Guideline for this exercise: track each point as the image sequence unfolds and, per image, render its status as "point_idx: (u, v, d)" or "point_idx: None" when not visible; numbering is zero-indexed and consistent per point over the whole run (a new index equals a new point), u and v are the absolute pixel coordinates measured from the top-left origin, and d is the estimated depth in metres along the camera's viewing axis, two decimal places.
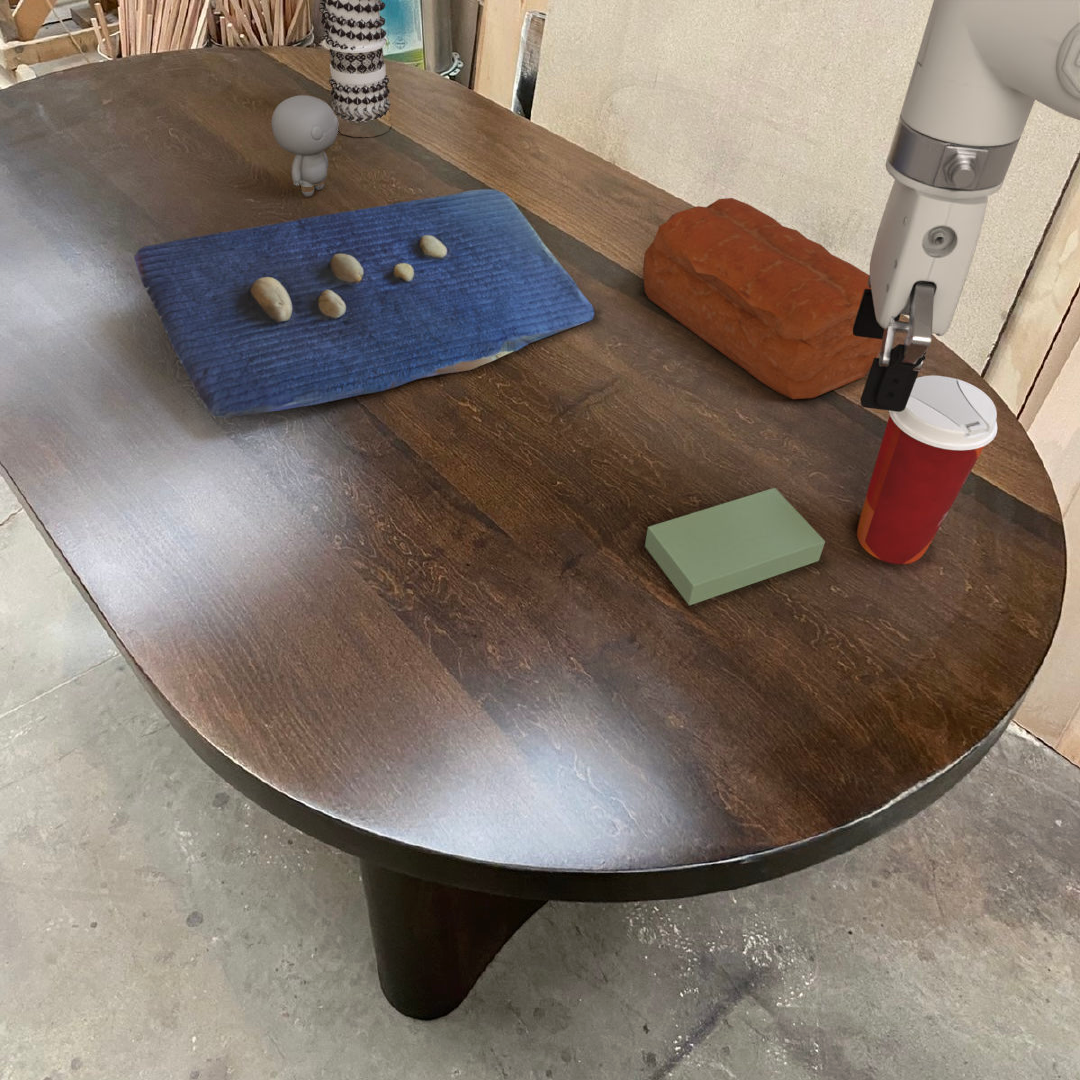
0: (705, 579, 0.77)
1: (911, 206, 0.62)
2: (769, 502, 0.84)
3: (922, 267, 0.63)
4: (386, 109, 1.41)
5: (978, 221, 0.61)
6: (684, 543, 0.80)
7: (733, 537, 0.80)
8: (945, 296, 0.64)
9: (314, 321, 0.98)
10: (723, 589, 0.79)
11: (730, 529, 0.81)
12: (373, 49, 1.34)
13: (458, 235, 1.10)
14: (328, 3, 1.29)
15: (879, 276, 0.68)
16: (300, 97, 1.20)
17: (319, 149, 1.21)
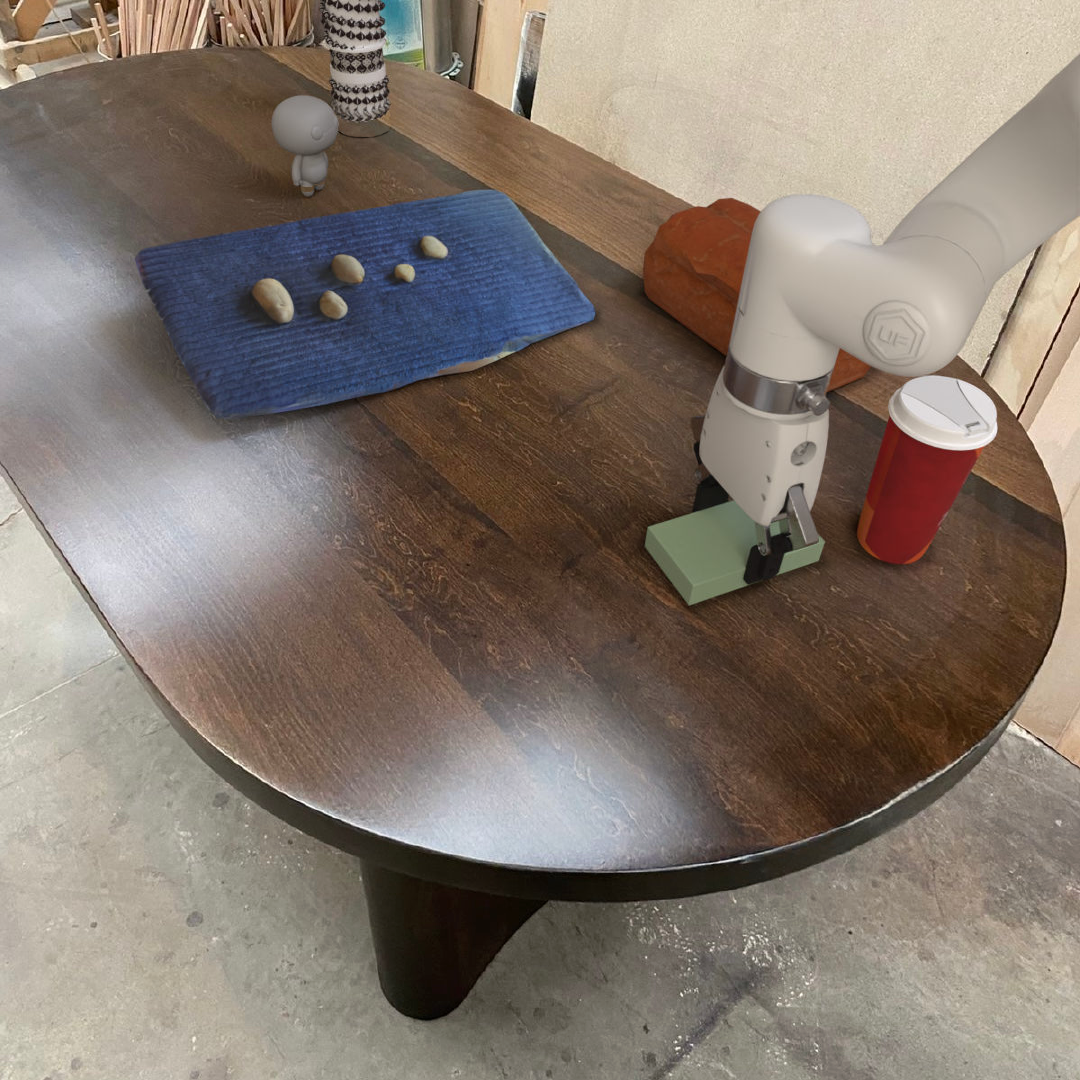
0: (705, 579, 0.77)
1: (772, 433, 0.68)
2: None
3: (793, 476, 0.70)
4: (386, 109, 1.41)
5: (827, 428, 0.69)
6: (684, 543, 0.80)
7: (733, 537, 0.80)
8: (811, 488, 0.72)
9: (315, 322, 0.98)
10: (723, 589, 0.79)
11: (730, 529, 0.81)
12: (373, 49, 1.34)
13: (458, 236, 1.10)
14: (328, 3, 1.29)
15: (741, 482, 0.74)
16: (300, 97, 1.20)
17: (319, 149, 1.21)
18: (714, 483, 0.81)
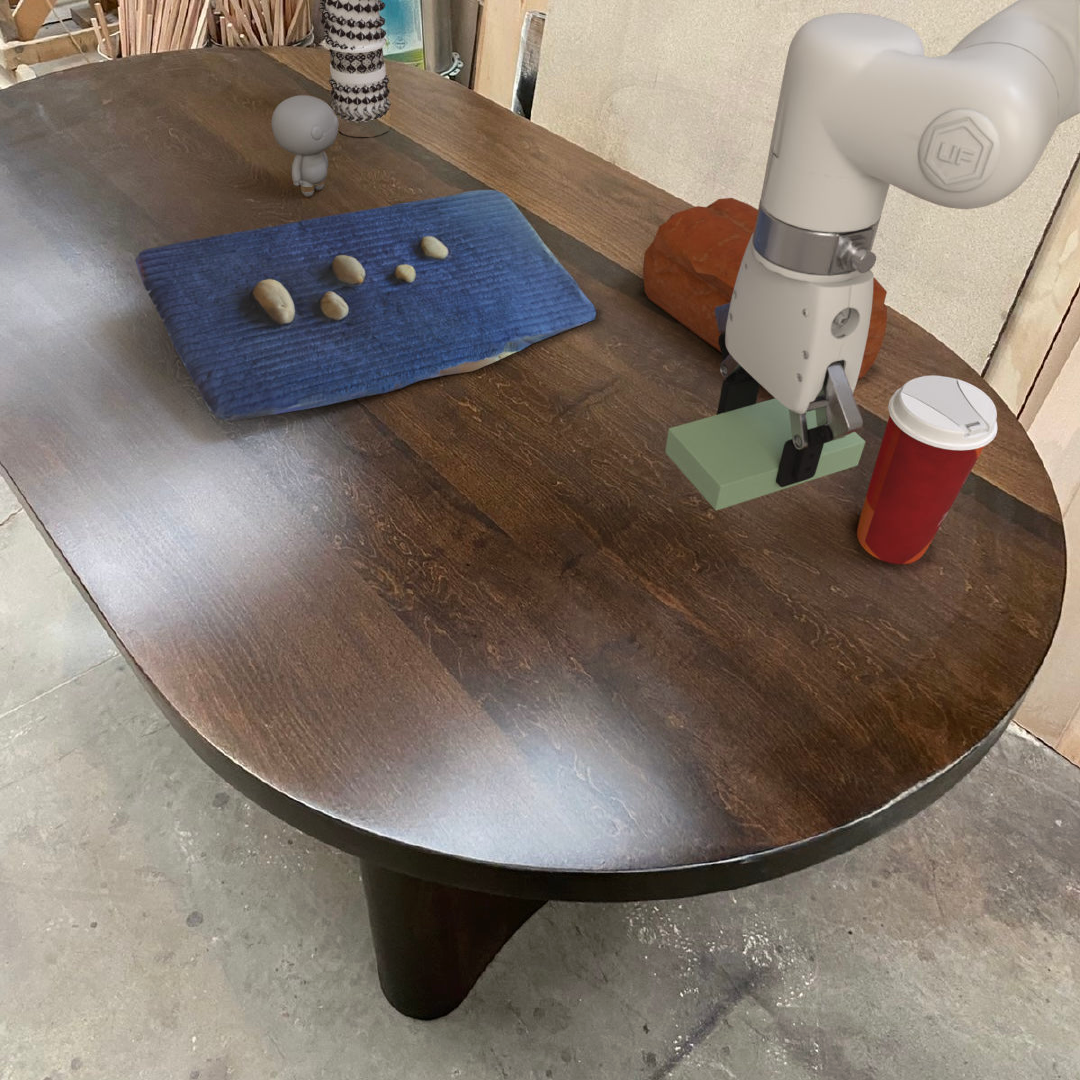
0: (733, 479, 0.69)
1: (810, 299, 0.61)
2: None
3: (833, 350, 0.62)
4: (386, 109, 1.41)
5: (871, 293, 0.61)
6: (709, 444, 0.72)
7: (763, 438, 0.73)
8: (853, 367, 0.64)
9: (316, 323, 0.97)
10: (753, 493, 0.71)
11: (760, 430, 0.73)
12: (373, 49, 1.34)
13: (459, 236, 1.10)
14: (328, 3, 1.29)
15: (773, 365, 0.66)
16: (300, 97, 1.20)
17: (319, 149, 1.21)
18: (741, 379, 0.74)
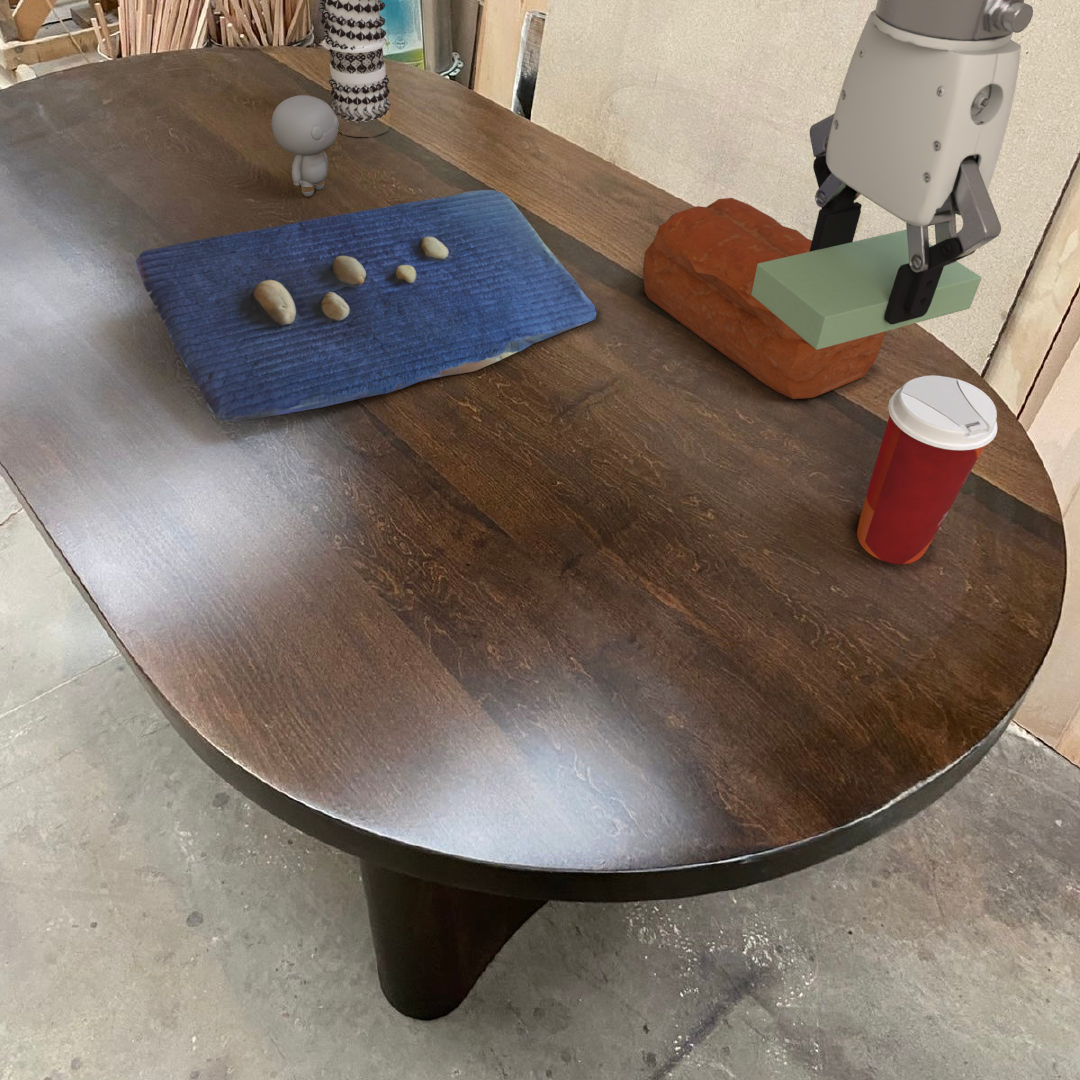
0: (839, 311, 0.60)
1: (948, 72, 0.52)
2: (904, 242, 0.67)
3: (970, 140, 0.54)
4: (386, 109, 1.41)
5: (1017, 69, 0.53)
6: (806, 278, 0.63)
7: (866, 273, 0.64)
8: (987, 167, 0.55)
9: (318, 324, 0.97)
10: (858, 331, 0.62)
11: (861, 265, 0.65)
12: (373, 49, 1.34)
13: (459, 236, 1.10)
14: (328, 3, 1.29)
15: (892, 169, 0.57)
16: (300, 97, 1.20)
17: (319, 149, 1.21)
18: (840, 209, 0.65)
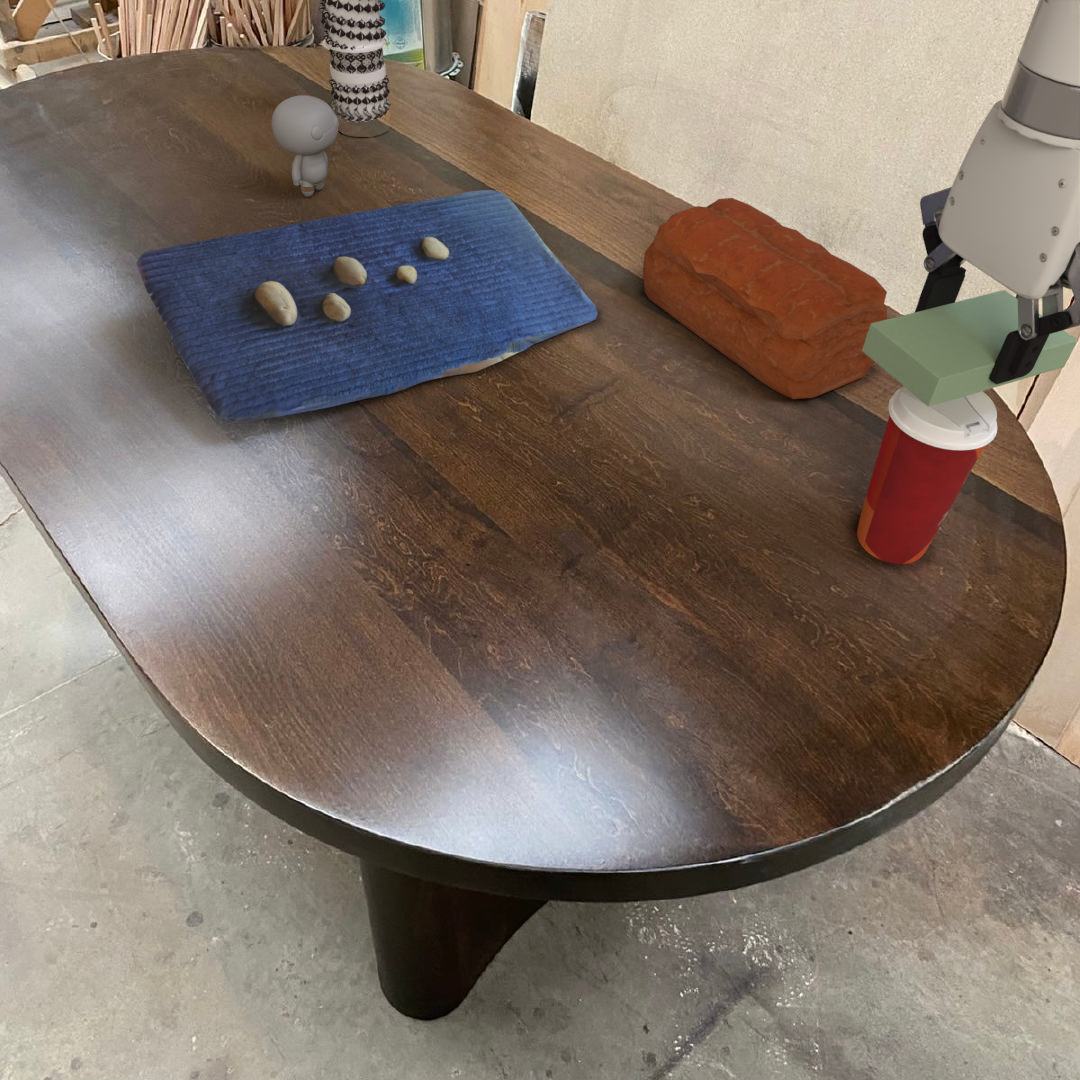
0: (951, 372, 0.66)
1: (1071, 167, 0.57)
2: (1002, 303, 0.73)
3: None
4: (386, 109, 1.41)
5: None
6: (917, 339, 0.69)
7: (971, 335, 0.69)
8: None
9: (319, 325, 0.97)
10: (966, 389, 0.68)
11: (966, 327, 0.70)
12: (373, 49, 1.34)
13: (459, 237, 1.10)
14: (328, 3, 1.29)
15: (1008, 247, 0.62)
16: (300, 97, 1.20)
17: (319, 149, 1.21)
18: (947, 274, 0.70)
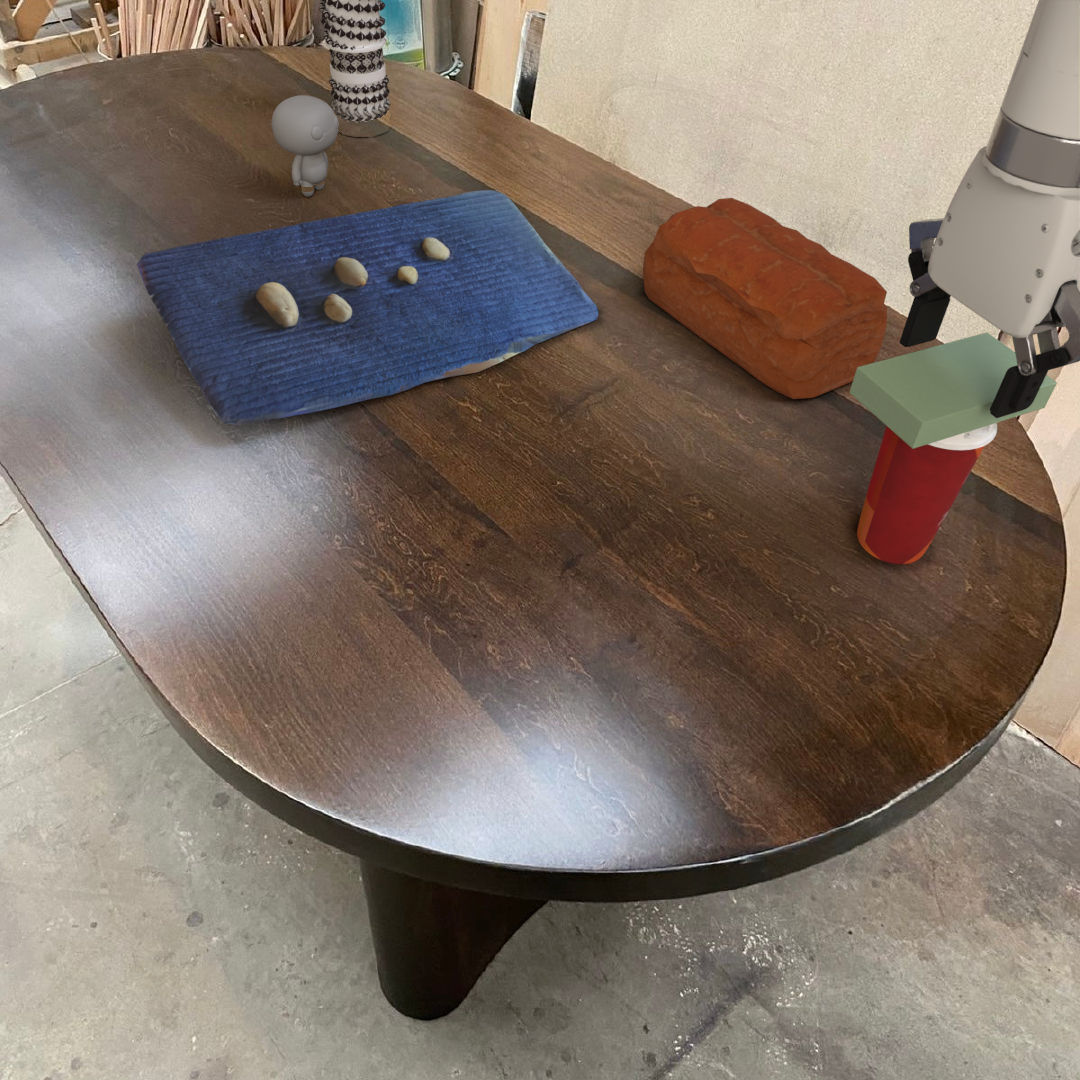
0: (934, 416, 0.68)
1: (1053, 213, 0.59)
2: (985, 345, 0.75)
3: (1069, 269, 0.61)
4: (386, 109, 1.41)
5: None
6: (902, 383, 0.71)
7: (954, 378, 0.72)
8: None
9: (320, 326, 0.97)
10: (949, 432, 0.70)
11: (949, 370, 0.73)
12: (373, 49, 1.34)
13: (460, 237, 1.10)
14: (328, 3, 1.29)
15: (994, 287, 0.64)
16: (300, 97, 1.20)
17: (319, 149, 1.21)
18: (932, 298, 0.72)
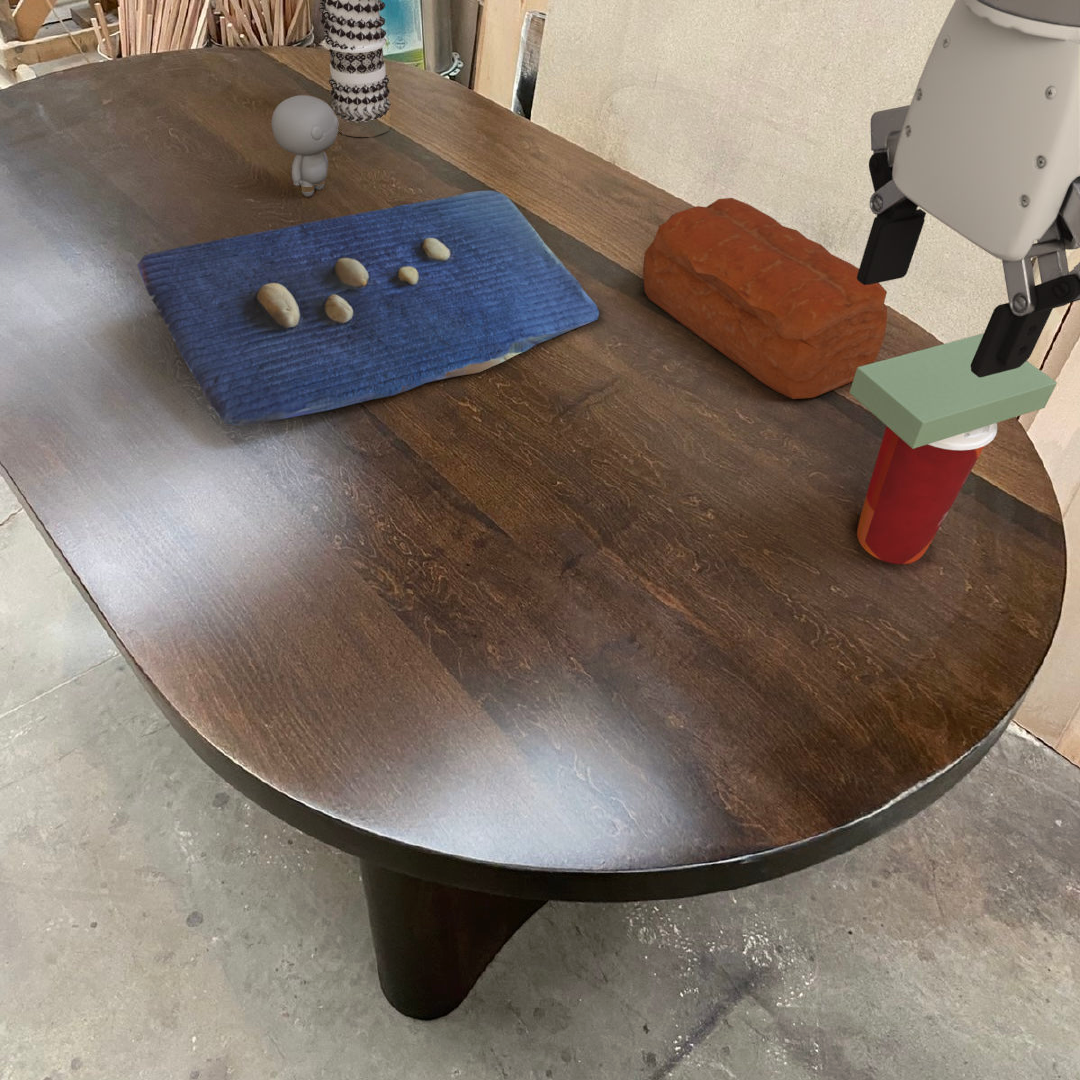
0: (934, 416, 0.68)
1: (1063, 68, 0.40)
2: None
3: None
4: (386, 109, 1.41)
5: None
6: (902, 383, 0.71)
7: (954, 378, 0.72)
8: None
9: (321, 326, 0.97)
10: (949, 432, 0.70)
11: (949, 370, 0.73)
12: (373, 49, 1.34)
13: (460, 238, 1.10)
14: (328, 3, 1.29)
15: (979, 189, 0.46)
16: (300, 97, 1.20)
17: (319, 149, 1.21)
18: (899, 217, 0.54)
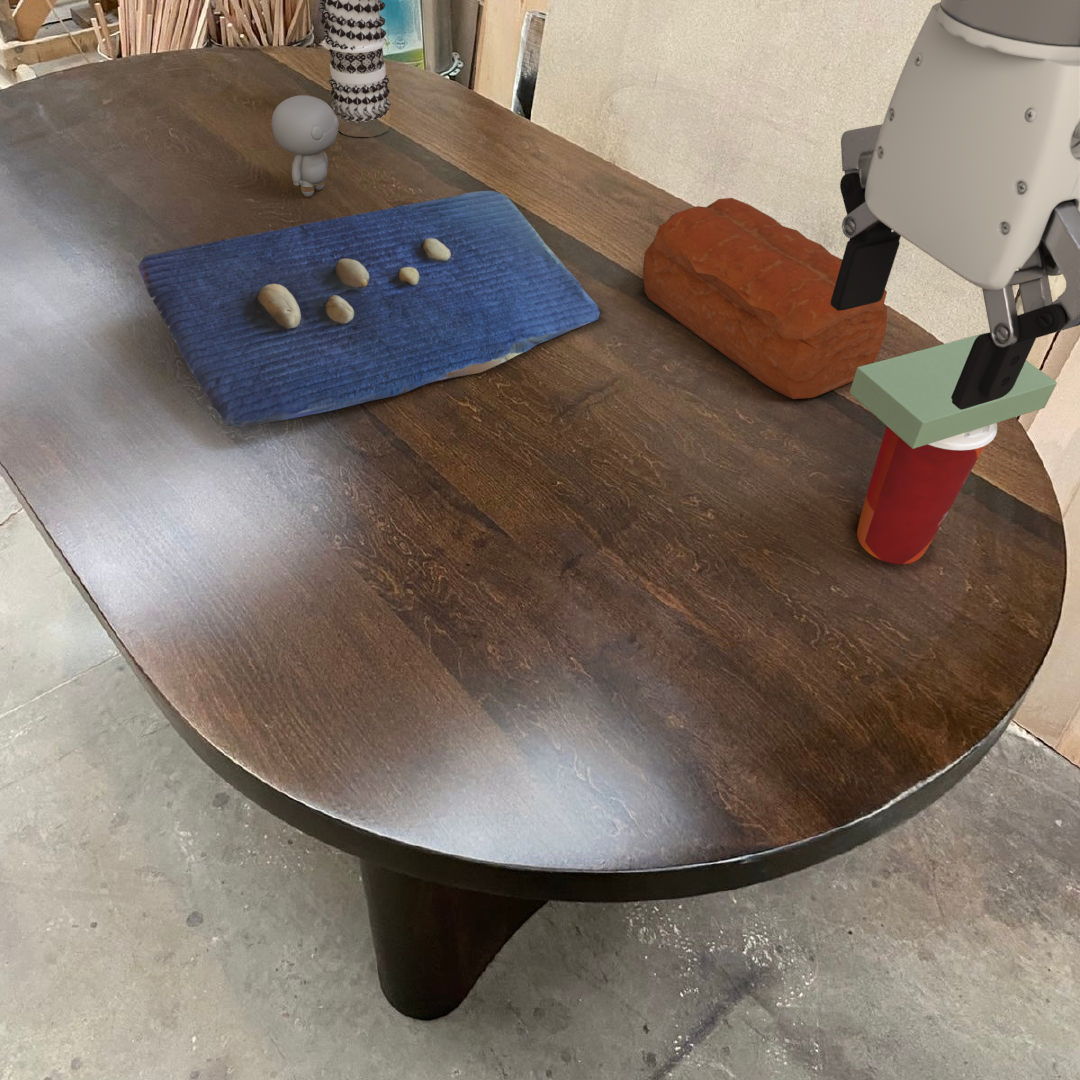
0: (934, 416, 0.68)
1: (1043, 89, 0.38)
2: None
3: (1066, 180, 0.40)
4: (386, 109, 1.41)
5: None
6: (902, 383, 0.71)
7: (954, 378, 0.72)
8: None
9: (323, 327, 0.97)
10: (949, 432, 0.70)
11: (949, 370, 0.73)
12: (373, 49, 1.34)
13: (460, 238, 1.10)
14: (328, 3, 1.29)
15: (956, 215, 0.43)
16: (300, 97, 1.20)
17: (319, 149, 1.21)
18: (873, 241, 0.51)
